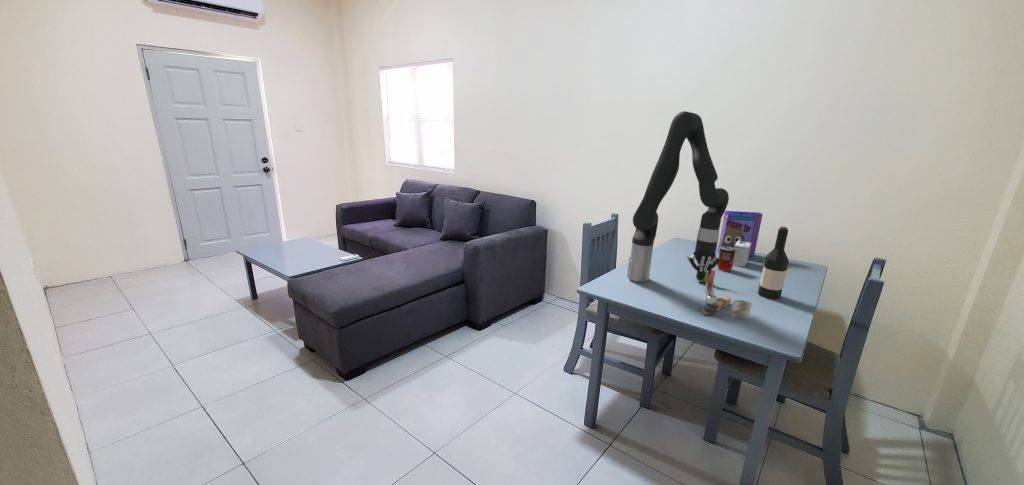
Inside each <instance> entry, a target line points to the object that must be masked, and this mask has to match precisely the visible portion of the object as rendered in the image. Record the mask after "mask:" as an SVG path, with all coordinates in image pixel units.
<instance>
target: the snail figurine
mask: <svg viewBox="0 0 1024 485" xmlns="http://www.w3.org/2000/svg"><path fill="white" fill-rule="evenodd" d="M707 274H708V271H706V273H705V278H704V279H703V280H698V279H697V278H696V280H697V282H700V283H706V280H707Z"/></svg>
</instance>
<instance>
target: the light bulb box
mask: <svg viewBox="0 0 1024 485" xmlns="http://www.w3.org/2000/svg"><path fill="white" fill-rule="evenodd" d="M750 247H751V243H750V242H743V241H737V243H736V244H735V245H734V249H735V256H734V261H733V266H737V267H742V268H745V267H746V265H747V263H748V260H749V257H750V256H749V251H750Z"/></svg>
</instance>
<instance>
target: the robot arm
mask: <svg viewBox="0 0 1024 485" xmlns="http://www.w3.org/2000/svg"><path fill="white" fill-rule="evenodd" d="M671 120H672V121H671V123H670V126H669V129H668V132H667V136H666V139H665V142H664V145H663V147H662V150H661V152H660V155H659V157H658V160H657V162H656V165H655V167H654V169H653V171H652V174H651V176H650V179H649V181H648V183H647V186H646V190H645V192H644V195H643V197H642V199H641V201H640V204H639V205H638V207H637V209H636V211H635V212H634V214H633V217H632V225H633V226H634V228H635V231H634V233H633V236H632V240H631V248H630V249H631V251H630V256H629V258H628V266H627V275H626V276H627V279H628V280H629V281H630V282H631V281H632V282H636V283H647V282H649V281H650V275H651V268H652V267H651V265H652V259H653V251H654V242H655V239H656V236H657V230H658V223H659V214H658V212H657V210H658V208H659V206H660V205H661V203H662V201H663V199H664V198H665V196H666V195H667V194H668V193H669V191H670V189H671V188H672V186H673V183H674V181H675V179H676V177H677V175H678V172H679V168H680V156H681V151H682V147H683V145H684V143H685V140H687V141H688V143H689V146H690V148H691V156H692V159H691V160H692V167H693V168H692V169H693V171H694V173H695V176H696V179H697V182H698V191H699V192H698V193H699V197H700V198H699V199H700V202H701V203H702V204H703V206H705V207H706V208H707V210H706V211H705V212H704V213H702V215H701V218H700V223H699V224H700V225H699V228H698V231H697V236H696V243H695V249H694V252H693V253H692V255H690V256H686V259H687V260H688V262H689V264H690V265H691V268H693V269H694V270H695V271H696V275H695V277H696V280H697V279H698V280H703V279H704V278H705V273H706V272H708V270H709V271H711V270H713V269H714V268H715V267H716V266H717V264H718V263H719V262H720V259H719V257H717V253H716V251H717V249H718V248H717V246H718V244H719V243H718V242H719V238H720V227H721V222H722V217H724V213H725V211H726V210H727V207H728V204H729V199H730V196H729V193H728V191H727V190H726V189H725V188H722V187H720V188H719V187H716V183H715V182H717V181H718V180H719V179H718V178H719V176H718V173H717V170H716V168H715V165H714V163H713V160H712V157H711V154H710V151H709V147H708V144H707V139H706V134H705V128H704V123H703V119H702V117H701V116H700V115H699V114H697V113H695V112H691V111H687V110H684V111H680V112H678V113H677V114H675V116H674V117H673V119H671ZM695 260H696V261H695ZM698 280H697V281H698Z"/></svg>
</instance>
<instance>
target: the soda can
mask: <svg viewBox="0 0 1024 485" xmlns="http://www.w3.org/2000/svg"><path fill="white" fill-rule="evenodd" d="M718 254H719V255H718V259H720V262H719V263H718V264H717V265H716V266H717V268H718V269H717V270H719V271H722V272H731V270H732V269H733V266H734V265H733V261H734V256H735V249H734V248H733V247H730V246H723V247H721V248H720V253H718Z"/></svg>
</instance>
